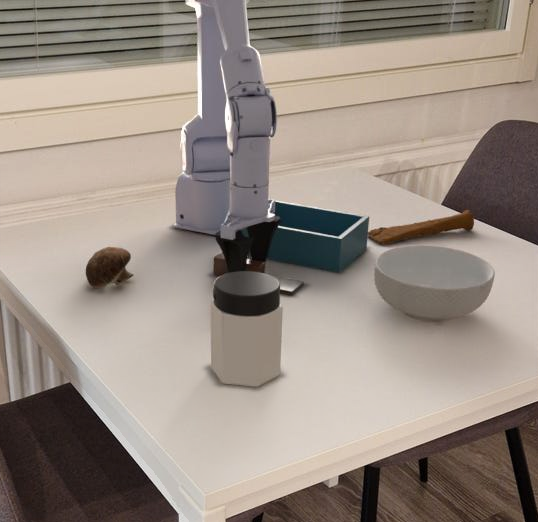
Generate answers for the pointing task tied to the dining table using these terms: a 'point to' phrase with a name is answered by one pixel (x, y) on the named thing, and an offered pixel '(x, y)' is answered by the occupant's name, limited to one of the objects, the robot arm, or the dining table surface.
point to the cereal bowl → (433, 281)
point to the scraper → (286, 284)
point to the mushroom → (108, 267)
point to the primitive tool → (423, 228)
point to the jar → (246, 328)
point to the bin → (317, 236)
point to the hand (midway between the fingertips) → (247, 270)
